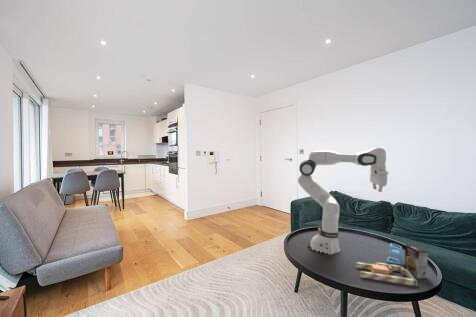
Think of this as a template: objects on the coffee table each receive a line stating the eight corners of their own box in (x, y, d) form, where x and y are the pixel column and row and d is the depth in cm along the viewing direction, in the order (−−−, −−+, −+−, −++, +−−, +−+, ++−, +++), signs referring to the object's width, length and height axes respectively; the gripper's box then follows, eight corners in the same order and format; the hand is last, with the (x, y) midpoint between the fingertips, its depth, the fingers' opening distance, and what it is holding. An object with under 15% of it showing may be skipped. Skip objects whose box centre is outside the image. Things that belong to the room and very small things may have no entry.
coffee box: (403, 269, 131) (404, 244, 130) (413, 269, 131) (414, 244, 131) (417, 278, 122) (418, 251, 121) (427, 278, 122) (428, 251, 122)
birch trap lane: (361, 277, 123) (361, 272, 123) (355, 263, 138) (355, 259, 138) (417, 286, 115) (417, 281, 115) (404, 270, 129) (404, 266, 129)
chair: (402, 266, 134) (403, 248, 134) (386, 262, 140) (387, 244, 139) (403, 262, 140) (404, 244, 139) (388, 257, 145) (389, 240, 145)
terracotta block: (373, 276, 124) (373, 268, 124) (370, 271, 129) (371, 263, 129) (389, 279, 122) (389, 270, 121) (386, 274, 126) (386, 266, 126)
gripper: (367, 169, 157) (367, 187, 158) (378, 172, 137) (377, 193, 138) (377, 169, 155) (376, 188, 156) (389, 172, 136) (388, 193, 136)
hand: (377, 190), depth 147 cm, fingers open, 8 cm apart
